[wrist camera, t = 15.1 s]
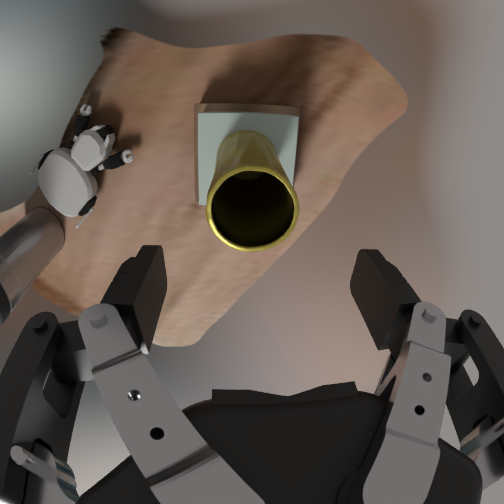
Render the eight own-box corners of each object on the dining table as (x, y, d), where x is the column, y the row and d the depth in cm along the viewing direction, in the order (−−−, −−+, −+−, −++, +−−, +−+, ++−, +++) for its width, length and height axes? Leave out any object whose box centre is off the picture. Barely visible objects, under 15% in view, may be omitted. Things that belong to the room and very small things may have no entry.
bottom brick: (199, 190, 37) (195, 200, 34) (199, 103, 31) (194, 103, 27) (287, 192, 38) (292, 202, 34) (294, 106, 32) (300, 107, 28)
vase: (241, 118, 25) (243, 133, 13) (288, 154, 27) (329, 204, 15) (204, 164, 27) (176, 222, 15) (251, 197, 30) (260, 276, 17)
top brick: (203, 193, 33) (199, 205, 30) (203, 111, 28) (198, 113, 25) (285, 195, 34) (290, 207, 30) (291, 114, 29) (298, 116, 25)
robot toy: (93, 98, 30) (39, 171, 33) (79, 97, 26) (24, 178, 29) (145, 154, 35) (85, 221, 38) (136, 160, 31) (73, 233, 34)
